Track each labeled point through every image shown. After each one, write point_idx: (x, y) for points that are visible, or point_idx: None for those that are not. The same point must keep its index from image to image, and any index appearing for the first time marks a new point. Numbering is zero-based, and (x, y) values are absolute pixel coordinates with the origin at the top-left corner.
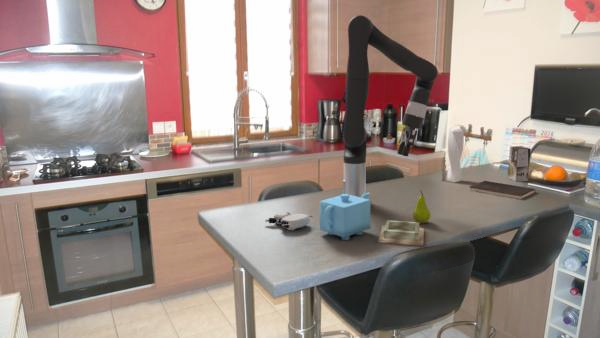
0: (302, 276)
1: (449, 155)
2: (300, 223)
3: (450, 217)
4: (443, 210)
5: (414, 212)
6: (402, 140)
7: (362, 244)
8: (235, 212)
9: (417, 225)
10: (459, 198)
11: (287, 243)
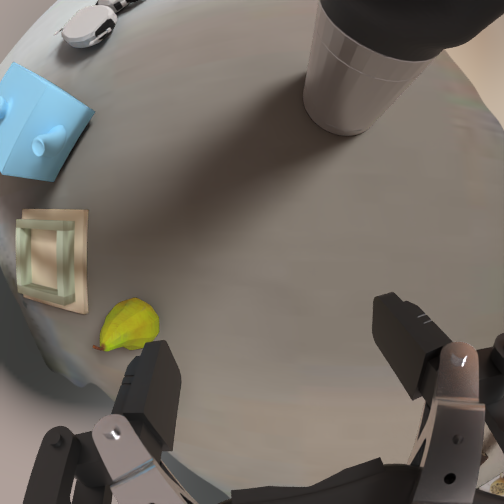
0: None
1: None
2: (67, 42)
3: (205, 397)
4: (271, 392)
5: (121, 304)
6: (429, 418)
7: (19, 180)
8: None
9: (47, 297)
10: (393, 430)
11: (35, 62)
